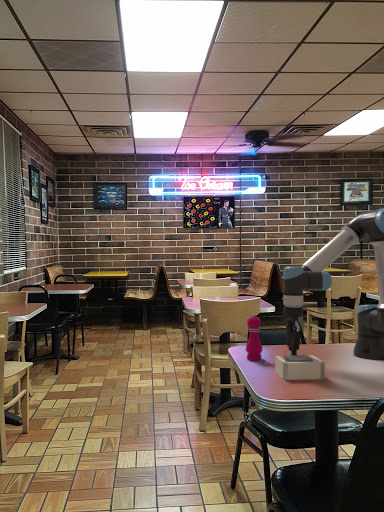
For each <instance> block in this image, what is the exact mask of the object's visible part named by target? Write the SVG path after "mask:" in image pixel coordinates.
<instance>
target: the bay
mask: <svg viewBox="0 0 384 512" xmlns="http://www.w3.org/2000/svg"><path fill="white" fill-rule="evenodd" d="M309 357H310V358H312V359H313V362H286V361H285V358H283V357H282V356H280V355H275V357H274V363H275V364H274V367H275V368H274V369H275V371H274V372H275V373H276V374H277V375H278V376H279V377H280V378H281V379H283V381H298V380H300V381H301V380H305V381H307V380H325V378H326V376H325V375H326V373H325V372H326V371H325V365H326V364H325V362H324V361H323V360H321V359H320V358H318V357H316V356H315V355H314V354H312V355H311V354H310V355H309Z"/></svg>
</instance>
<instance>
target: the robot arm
mask: <svg viewBox="0 0 384 512" xmlns="http://www.w3.org/2000/svg"><path fill="white" fill-rule="evenodd" d="M366 239H368V242H369V244H370V245H372V247H373V250H374V258H375V259H374V261H375V268H376V269H375V270H376V278H377V286H378V296H379V303H378V304H363V305H362V304H360V305H359V306H358V307H357V313H356V317H357V319H356V320H357V321H356V322H357V323H356V324H357V339H356V342H355V344H354V346H353V355H354V356H355V357H357V358H361V359H367V360H368V359H369V360H384V208H383V207H382V208H379V209H373V210H367V211H362V212H360V213H359V214H357V215H355V216H354V217H353V218H352V219H350V221H348V222H347V223H346V224H345V225H343V226H342V227H341V229H340V232H339V233H338V234H336V235H335V236H333V238H332V239H330V240H329V241H328V243H326V244H325V245H324V246H323V247H321V249H319V250H318V251H317V252H316V253H315V254H314V255H313V256H311V257H310V258H309V259H308V260H307V261H306V262H304V263H303V264H302V265H301V266H285V267H284V268H283V277H282V280H283V285H282V286H283V287H282V288H283V289H282V290H283V297H282V298H281V299H282V301H283V308H282V310H283V313H282V314H283V316H284V317H287V320H286V321H284V322H285V323H284V324H285V330H286V331H285V332H286V346H287V347H288V355H298V351H299V350H300V343H301V332H302V325H300V324H301V323H300V319H299V318H301V317H303V316H304V307H303V306H304V291H305V292H306V291H321V292H322V291H328V290H329V289H331V287H332V284H333V282H332V281H333V278H332V275H331V274H330V273H329V272H328V271H325V270H326V268H328V267H329V266H330V265H331V264H332V263H333V262H335V261H336V260H337V259H338V258H340V256H341V255H342V254H344V253H345V252H347V250H349V249H350V247H352V246H354V245H359V243H361V241H363V240H366Z"/></svg>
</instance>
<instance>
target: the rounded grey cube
mask: <svg viewBox="0 0 384 512" xmlns="http://www.w3.org/2000/svg"><path fill="white" fill-rule="evenodd" d="M284 360H285V361H286V362H313V359H312V358H310V357H309V356H308V355H307V354H297V355H289V354H285V355H284Z"/></svg>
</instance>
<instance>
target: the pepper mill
mask: <svg viewBox="0 0 384 512" xmlns="http://www.w3.org/2000/svg"><path fill="white" fill-rule="evenodd" d="M246 322H247V323H246V324H247V326H248V333H249V337H248V341H247V343H246V345H245V352H246V353H247V354H246V359H247V360H248V361H254V362H257V361H261V360H262V352H263V345H262V342H261V339H260V336H259V335H260V332H261V330H260V329H261V328H260V327H261V325H262V320H261V318H259V317H258V316H257V313H255V312H253V313H252V314H251V316H250V317H249V318H248V319H247V321H246Z"/></svg>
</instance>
